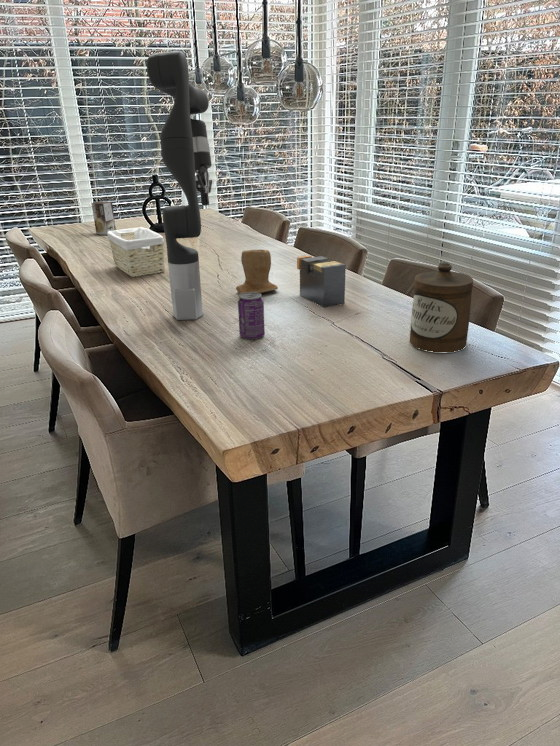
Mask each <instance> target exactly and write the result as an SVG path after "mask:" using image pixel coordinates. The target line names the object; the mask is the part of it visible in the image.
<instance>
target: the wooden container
mask: <svg viewBox="0 0 560 746" xmlns="http://www.w3.org/2000/svg"><path fill="white" fill-rule="evenodd" d="M452 269H453V267H452V264H450V263H449V262H445V261H444V262H441V263H440V264H438V265H437V270H438V271H437V270H431V271H426V272H424V271H423V272H421V273H418V274H416V275H415V276H414V283H413V289H414V291H413V300H412V308H411V317H410V318H411V319H410V331H409V343H411V344H412V345H413V346H412V345H411V344H410V345H411V346H412V347H414V346H415V347H417V348H420V349H423V350H427V351H433V352H454V351H458V350H461V349H463V348H464V347H465V346H466V347H467V343H468V335H469V334H468V333H469V326H470V319H471V318H470V317H471V307H472V306H471V303H472V294H473V293H472V292H473V285H474V284H473V283H474V279H473V278H472V277H471V276H470V275H469V274H465V273H463V272H462V273H461V272H458V271H457V272H456V271H452ZM415 347H414V348H415ZM466 347H465V348H466ZM417 348H416V349H417ZM465 348H464V349H465ZM464 349H463V350H464ZM461 351H462V350H461ZM458 352H459V351H458ZM454 353H455V352H454Z"/></svg>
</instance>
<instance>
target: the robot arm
mask: <svg viewBox="0 0 560 746" xmlns="http://www.w3.org/2000/svg"><path fill="white" fill-rule="evenodd" d="M188 65H189V64H188V59H187V57H186V55H185V53H184V52H183V51H181V50H172V51H164V52H163V51H162V52H155V53H152V54H150V55H149V56H148V57H147V60H146V70H147V71H146V73H147V76H148V79H149V82H150V83H151V85H152V86H153V87H154V88H155V89H157V90H158V91H161V92H162V93H164V94H167V95H168V96H171V97H172V98H173V99H174V101H173V105H172V108H171V111H170V113H169V115H168V117H167V118H166V121H165V122H164V124H163V127H162V129H161V131H160V136H159V137H160V138H159V139H160V148H161V158H162V161H163V163H164V165H165V167H166V169H167V170H168V171H169V172H170V174H171V175H172V176H173V178H174V180H175V181H176V183H178V185H179V186H180V189H181V190H182V191H183V193H184V195H185V198H186V201H187V205H170V206H165V207H164V208H163V210H162V224H163V226H162V227H163V230H164V231H163V232H164V236H165V244H166V254H167V266H168V275H169V285H170V295H171V296H170V297H171V304H172V305H171V306H172V314H173V315H172V316H173V318H174V319H176V321H182V320H183V321H185V320H186V321H187V320H191V321H192V320H198V319H199V318H201V317H202V316H203V315H204V311H203V310H204V309H203V307H204V306H203V297H202V287H201V286H202V285H201V274H200V271H201V270H200V261H199V260H200V257H199V252H198V250H196V249H195V248H192V247H189V246H185V245H183V244H181V243H180V242H179V241H178V240H177V239H193V238H198V237H200V236H201V233H202V220H201V210H200V205H199V198H198V192H199V195H200V198H201V199H200V200H201V205H202V206H204V207H205V206H210V200H209V199H210V197H209V195H210V193H211V191H212V185H213V180H212V179H210V174H209V168H211V167H212V158H211V157H212V156H211V150H210V143H209V140H208V130H207V125H206V123H205V121H204V120H201V119H193V118H191V115H192V116H193V115H198V114H204V113H206V112H207V110H208V108H209V97H208V95H207V94H206V92H205V91H204V90H202V89H201V88H199V87H196V86H194V85H193V83H192V82H190V73H189V66H188Z"/></svg>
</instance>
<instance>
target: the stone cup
mask: <svg viewBox="0 0 560 746" xmlns="http://www.w3.org/2000/svg"><path fill="white" fill-rule="evenodd" d="M240 256H241V257H240V261H241V265H242V268H243V273H244V279H245V280H244V282H243V283H242V284H240V285H237V286H235V287H236V288H235V290H236V292H237V293H238V295H240V294H242V293H247V292H256V293H260V294H263V293H269V292H271V291H275V290H276V291H277V290H278V289H279V288H278V286H277V285H276V284H274V283H272V282H270V280H269V279H270V278H269V275H270V271H271V267H272V255H271V251H270V250H268V249H261V248H260V249H247V250H242V252H241V255H240Z"/></svg>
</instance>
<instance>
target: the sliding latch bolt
mask: <svg viewBox="0 0 560 746" xmlns="http://www.w3.org/2000/svg"><path fill="white" fill-rule="evenodd" d="M312 257H313V255H309V254H308V255H304V256H302V255H301V256H298V257H296V269H297V270H299V271H300V270H301V259H305V258H312ZM313 266H314V265H313ZM313 266H310V270H313Z"/></svg>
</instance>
